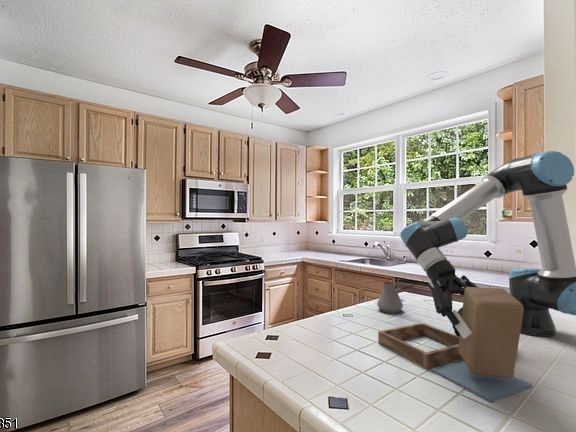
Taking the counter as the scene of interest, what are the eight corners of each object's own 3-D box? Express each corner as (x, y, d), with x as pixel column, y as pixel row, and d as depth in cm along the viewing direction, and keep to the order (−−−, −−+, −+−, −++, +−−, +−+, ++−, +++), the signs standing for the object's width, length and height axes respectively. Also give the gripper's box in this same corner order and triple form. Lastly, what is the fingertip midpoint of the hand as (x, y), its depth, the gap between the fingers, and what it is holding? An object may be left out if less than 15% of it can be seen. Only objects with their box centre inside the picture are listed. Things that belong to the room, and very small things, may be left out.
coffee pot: (371, 309, 146) (371, 277, 146) (390, 306, 151) (390, 275, 151) (406, 322, 127) (405, 285, 127) (426, 318, 131) (425, 283, 132)
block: (514, 380, 75) (526, 305, 71) (470, 376, 77) (479, 303, 73) (495, 354, 85) (504, 287, 81) (456, 351, 87) (463, 285, 83)
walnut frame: (422, 333, 114) (422, 322, 114) (475, 355, 95) (474, 342, 95) (378, 343, 106) (378, 331, 106) (426, 368, 87) (426, 354, 87)
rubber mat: (471, 360, 92) (471, 358, 92) (531, 386, 77) (531, 384, 77) (432, 371, 85) (432, 369, 85) (490, 402, 71) (490, 399, 71)
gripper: (457, 270, 101) (506, 331, 87) (398, 277, 91) (443, 346, 77) (472, 256, 96) (526, 317, 82) (412, 261, 86) (462, 332, 72)
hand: (486, 332), depth 79 cm, fingers closed on block, 13 cm apart
